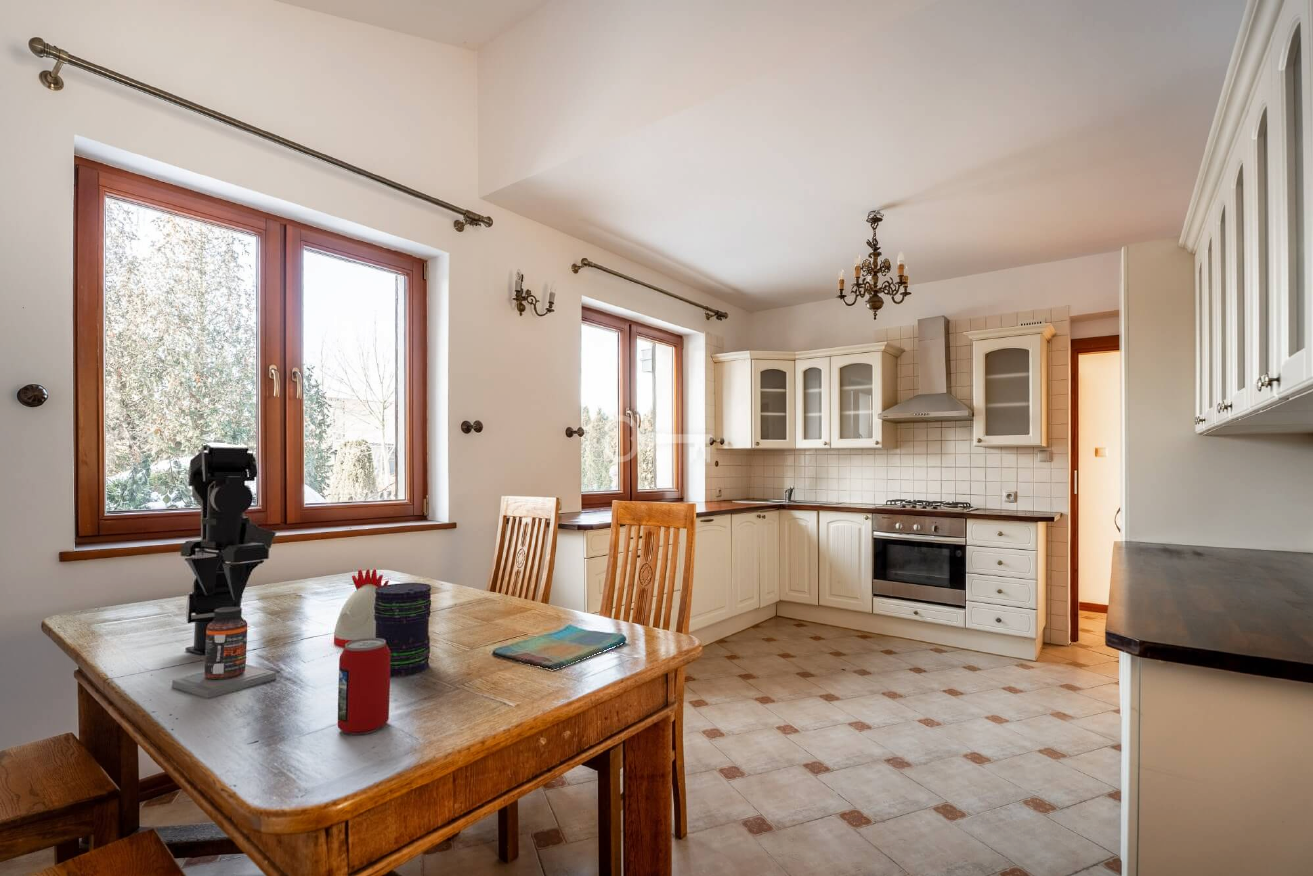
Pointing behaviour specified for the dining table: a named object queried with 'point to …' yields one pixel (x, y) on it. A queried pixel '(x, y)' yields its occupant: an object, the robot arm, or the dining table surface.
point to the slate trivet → (223, 682)
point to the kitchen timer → (358, 610)
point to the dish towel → (559, 647)
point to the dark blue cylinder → (404, 626)
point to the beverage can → (364, 686)
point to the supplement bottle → (226, 644)
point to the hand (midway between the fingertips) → (222, 597)
